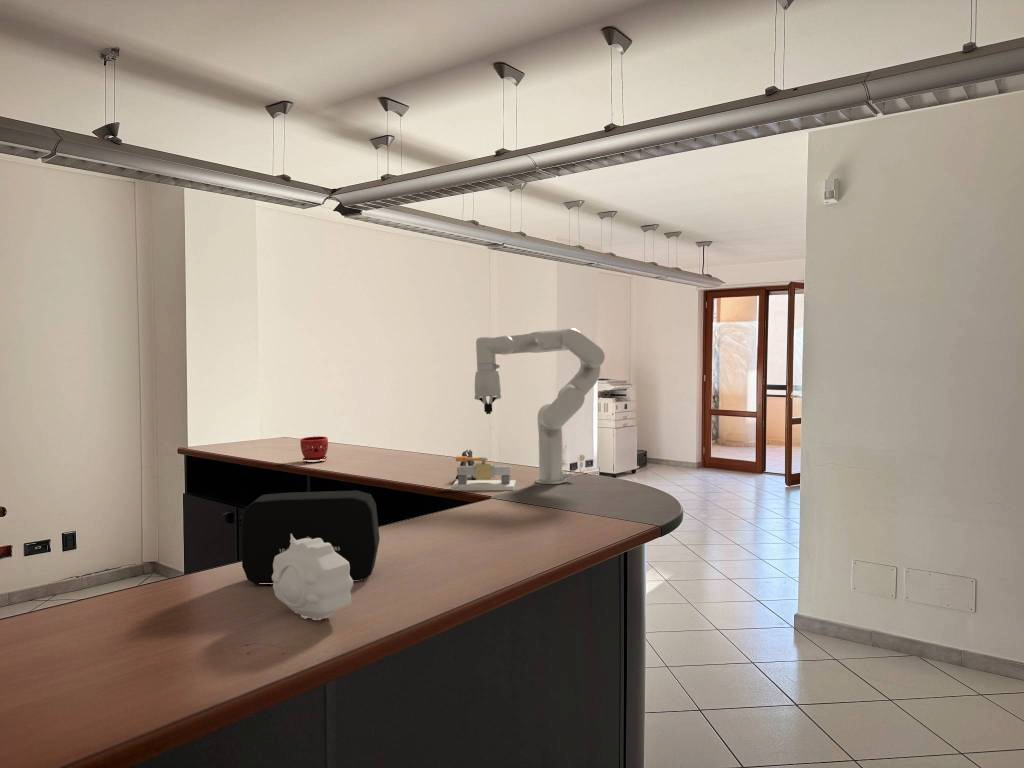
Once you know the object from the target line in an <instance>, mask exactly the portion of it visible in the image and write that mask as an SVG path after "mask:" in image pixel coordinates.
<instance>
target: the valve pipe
mask: <svg viewBox="0 0 1024 768" xmlns="http://www.w3.org/2000/svg"><path fill="white" fill-rule="evenodd" d="M457 475H467V476H471V475H473V478H476V480H492V479H493V478H495V476H502V475H510V476H511V475H512V465H496V463H493V461H477V462H475V464H474V465H473V466H468V465H466V466H460V465H458V466H456V476H457Z"/></svg>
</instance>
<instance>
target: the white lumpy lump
mask: <svg viewBox="0 0 1024 768" xmlns="http://www.w3.org/2000/svg"><path fill="white" fill-rule="evenodd" d="M290 536H291V539H290V543H291V544H290V547H289V549H288V550H287V551H285V552H283V553H280V554H278V555H276V556H275V558H274V562H273V570H274V572H273V575H272V580H273V582H274V583H273V585H272V588H273V592H274V596H275V597H276V598H277V599H278V600H279V601H281V602H282V603H283V605H286V606H287V607H288V608H289V609H290V610H291V611H292V612H293V611H295V612H297V613H298V614H297V615H299V614H300V615H303V616H308V617H311V618H316V619H319V618H323V617H325V616H328V615H331V614H333V613H334V614H335V613H336V612H337V610H339V609H341V608H344V607H346V606H349V605H350V604H351V602H352V596H351V594H352V593H351V590H352V588H353V585H354V581H353V580H352V578H351V576H350V574H349V572H350V565H349V562H348V561H347V560H346V559H344V558H343V557H342V556H340V555H339V554H337V553H336V552H335V551H334V549H333V547H332V545H331V544H330V543H324V542H323V540H322V539H321V538H315V539H310V538H304V539H300V540H296V539H295V538H294V537H293V535H292V534H291V535H290ZM334 614H333V615H334ZM300 615H299V616H300ZM311 618H310V619H311Z"/></svg>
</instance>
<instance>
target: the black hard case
mask: <svg viewBox="0 0 1024 768" xmlns="http://www.w3.org/2000/svg"><path fill="white" fill-rule="evenodd" d="M241 520H242V521H241V566H242V569H243V571H244V574H245V576H246V579H247V580H248V581H249V582H251V583H253V584H254V585H260V584H259V583H274V582H273V580H272V575H273V572H274V570H273V562H274V558H275V556H276V555H278V554H280V553H283V552H285V551H287V550H288V549H289V547H290V544H291V543H290V539H291V536H290V535H291V534H292V535H293V537H294V538H295V539H296V540H300V539H304V538H310V539H315V538H321V539H322V540H323V542H324V543H330V544H331V545H332V547H333V549H334V551H335V552H336V553H337V554H339V555H340V556H342V557H343V558H344V559H346V560H347V561H348V562H349V565H350V572H349V574H350V576H351V578H352V580H361V579H364V580H365V579H367V578H369V577H371V575H372V573H373V570H374V568H375V565H376V560H377V554H378V550H379V544H380V531H379V520H378V511H377V503H376V501H375V499H374V497H373V496H372V494H371V493H367V492H364V491H360V490H331V491H325V490H324V491H302V492H301V491H297V492H280V493H268V494H261V496H259V497H257V498H256V499H255V500H254V501H252V502H251V503H250V504H248V505H247V506H245V507H244V511H243V514H242V519H241Z"/></svg>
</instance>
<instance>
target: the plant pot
mask: <svg viewBox="0 0 1024 768" xmlns="http://www.w3.org/2000/svg"><path fill="white" fill-rule="evenodd" d="M328 439H329V438H328V437H326V436H319V435H318V436H317V435H316V436H308V437H307V436H306V437H302V438H301V439H300V440H299V441H300V442H299V443H300V449H301V454H302V456H303V457H302V461H303V460H320V459H326V458H327V459H328V456H326V455H327V452H328V447H329V440H328ZM324 457H325V458H324ZM327 459H326V460H327Z"/></svg>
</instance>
